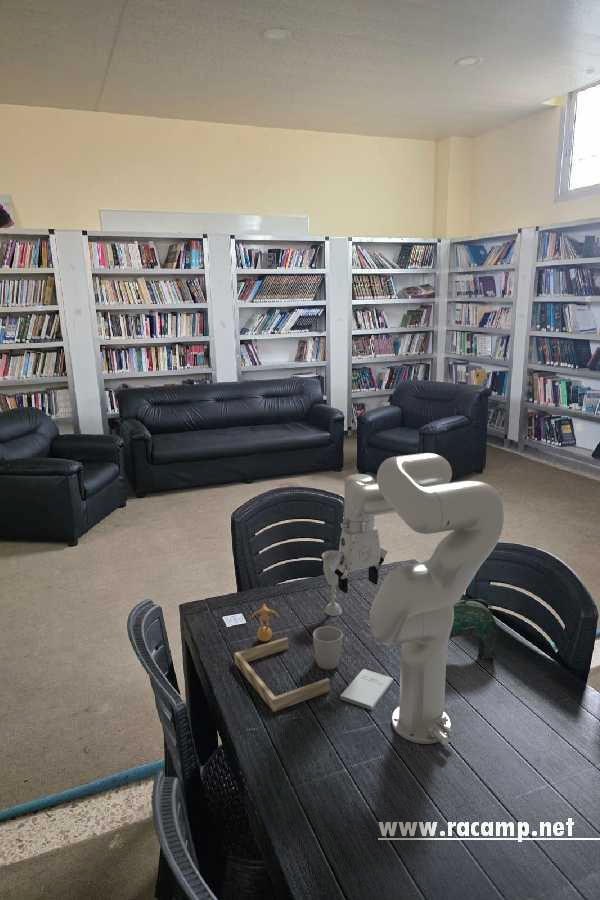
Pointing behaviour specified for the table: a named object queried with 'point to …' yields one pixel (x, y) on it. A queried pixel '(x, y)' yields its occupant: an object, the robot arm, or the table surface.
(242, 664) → the wooden u-shaped frame
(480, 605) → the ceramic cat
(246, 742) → the table surface
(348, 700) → the external hard drive
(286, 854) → the table surface
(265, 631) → the figurine
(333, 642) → the cup
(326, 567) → the chalice
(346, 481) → the robot arm
